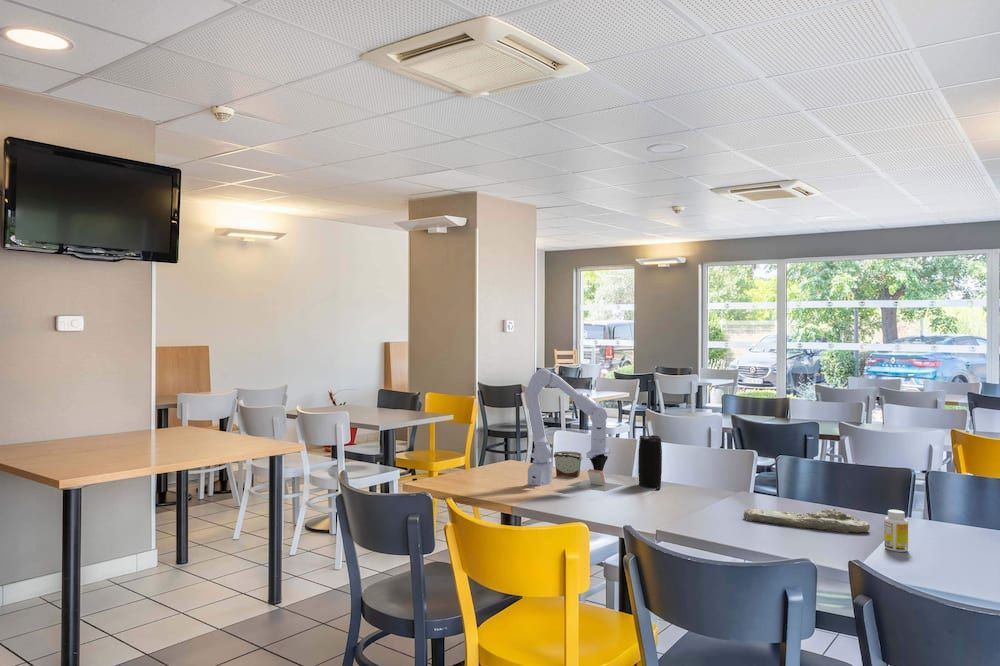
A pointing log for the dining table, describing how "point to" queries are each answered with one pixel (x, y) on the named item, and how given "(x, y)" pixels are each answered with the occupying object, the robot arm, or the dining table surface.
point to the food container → (567, 463)
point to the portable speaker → (650, 461)
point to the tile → (596, 477)
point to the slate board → (588, 485)
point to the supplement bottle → (896, 531)
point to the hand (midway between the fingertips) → (598, 475)
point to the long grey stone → (810, 520)
